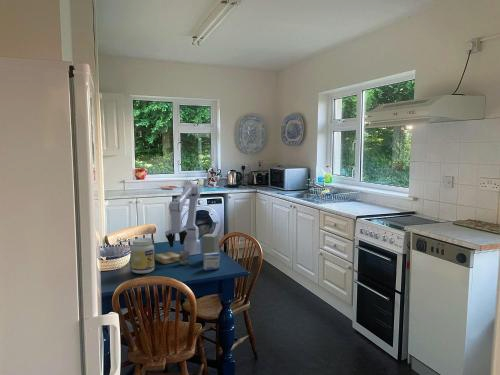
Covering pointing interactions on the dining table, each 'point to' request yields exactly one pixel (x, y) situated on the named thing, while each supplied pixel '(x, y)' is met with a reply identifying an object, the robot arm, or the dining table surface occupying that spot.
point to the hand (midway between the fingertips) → (176, 245)
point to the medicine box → (211, 261)
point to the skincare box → (210, 244)
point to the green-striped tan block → (167, 257)
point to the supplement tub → (142, 255)
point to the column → (184, 257)
